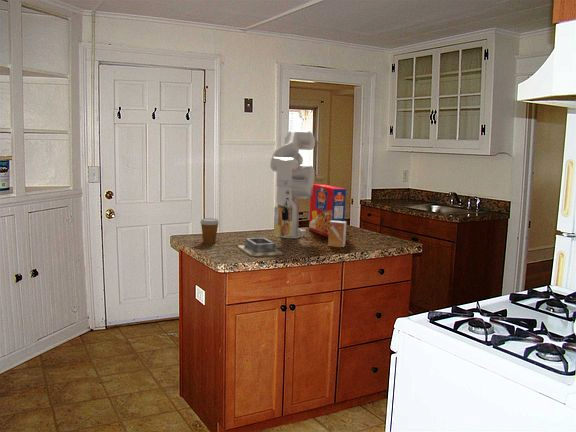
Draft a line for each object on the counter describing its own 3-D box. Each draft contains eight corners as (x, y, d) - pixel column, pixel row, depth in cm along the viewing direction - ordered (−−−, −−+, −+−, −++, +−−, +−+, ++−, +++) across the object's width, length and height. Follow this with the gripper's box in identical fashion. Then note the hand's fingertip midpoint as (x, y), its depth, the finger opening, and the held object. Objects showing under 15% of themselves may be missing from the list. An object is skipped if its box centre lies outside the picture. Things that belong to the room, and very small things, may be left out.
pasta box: (309, 229, 335) (311, 184, 331) (320, 229, 338) (322, 184, 334) (331, 238, 310) (333, 189, 306) (343, 237, 313) (346, 188, 309)
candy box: (287, 234, 287) (287, 205, 285) (292, 235, 284) (292, 206, 281) (273, 235, 282) (273, 206, 279) (278, 237, 279) (278, 207, 276)
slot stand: (268, 246, 281) (268, 236, 280) (282, 254, 263) (282, 244, 262) (238, 247, 275) (238, 237, 274) (250, 256, 257) (250, 245, 256)
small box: (327, 246, 287) (328, 221, 285) (330, 244, 293) (331, 220, 291) (342, 247, 285) (344, 223, 283) (345, 245, 291) (346, 221, 289)
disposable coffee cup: (196, 242, 285) (196, 219, 283) (210, 240, 291) (211, 217, 290) (207, 245, 278) (208, 221, 276) (222, 242, 285) (222, 220, 283)
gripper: (297, 185, 272) (296, 221, 275) (284, 181, 287) (283, 215, 291) (283, 185, 269) (282, 222, 272) (271, 181, 285) (270, 216, 288)
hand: (283, 218), depth 281 cm, fingers closed on candy box, 5 cm apart
